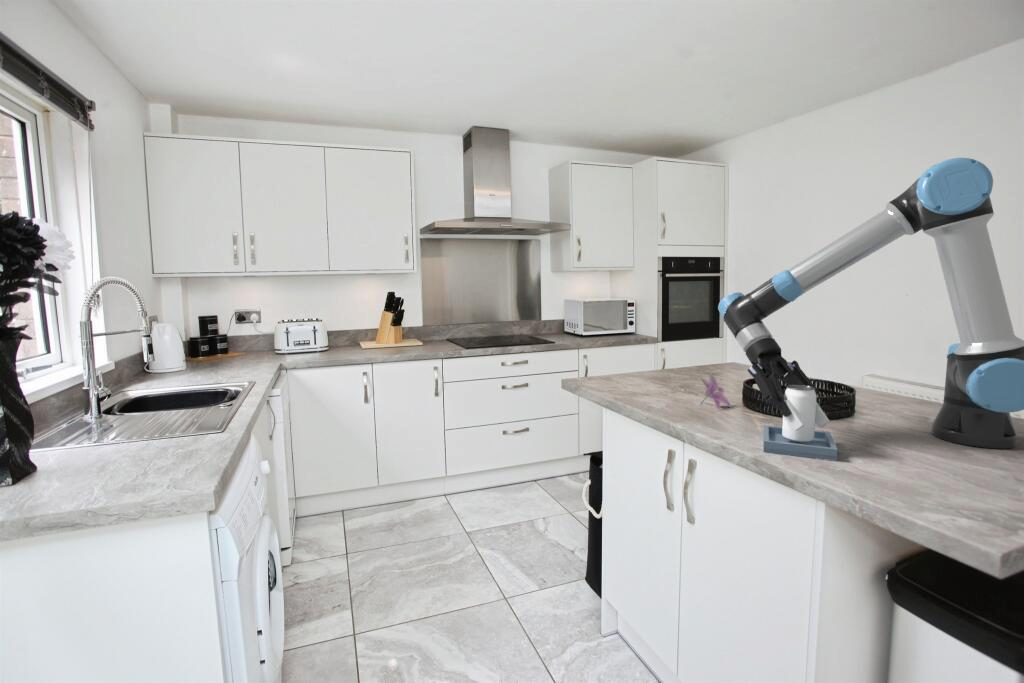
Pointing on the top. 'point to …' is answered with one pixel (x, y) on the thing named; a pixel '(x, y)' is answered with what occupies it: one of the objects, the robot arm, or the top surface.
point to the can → (801, 413)
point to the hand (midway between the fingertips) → (812, 426)
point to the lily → (715, 392)
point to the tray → (800, 444)
